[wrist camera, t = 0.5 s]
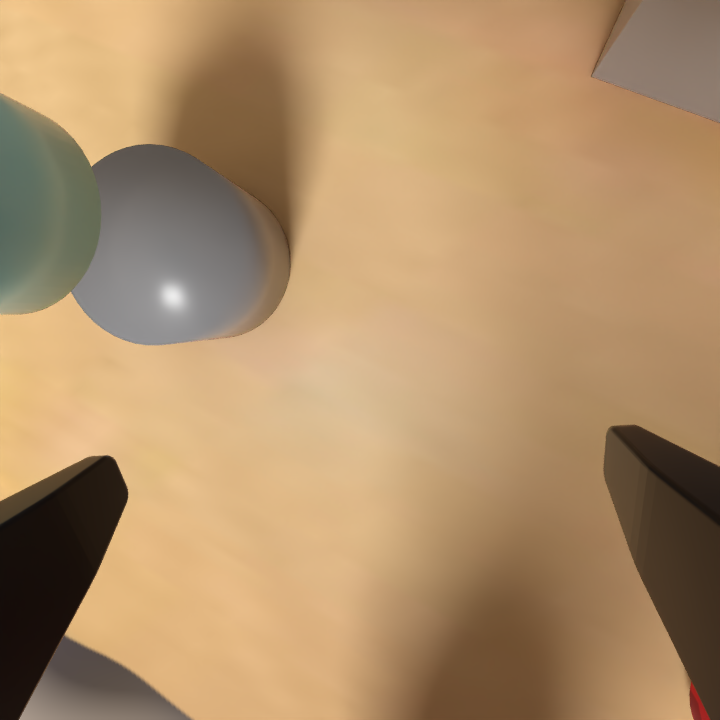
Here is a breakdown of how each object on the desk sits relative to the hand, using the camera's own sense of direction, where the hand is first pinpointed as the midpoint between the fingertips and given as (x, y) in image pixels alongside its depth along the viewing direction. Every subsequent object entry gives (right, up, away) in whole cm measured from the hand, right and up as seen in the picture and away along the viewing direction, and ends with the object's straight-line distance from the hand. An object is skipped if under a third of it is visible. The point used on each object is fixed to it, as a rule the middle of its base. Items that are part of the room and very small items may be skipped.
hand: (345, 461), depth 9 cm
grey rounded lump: (-6, +6, +14) cm, 17 cm away
